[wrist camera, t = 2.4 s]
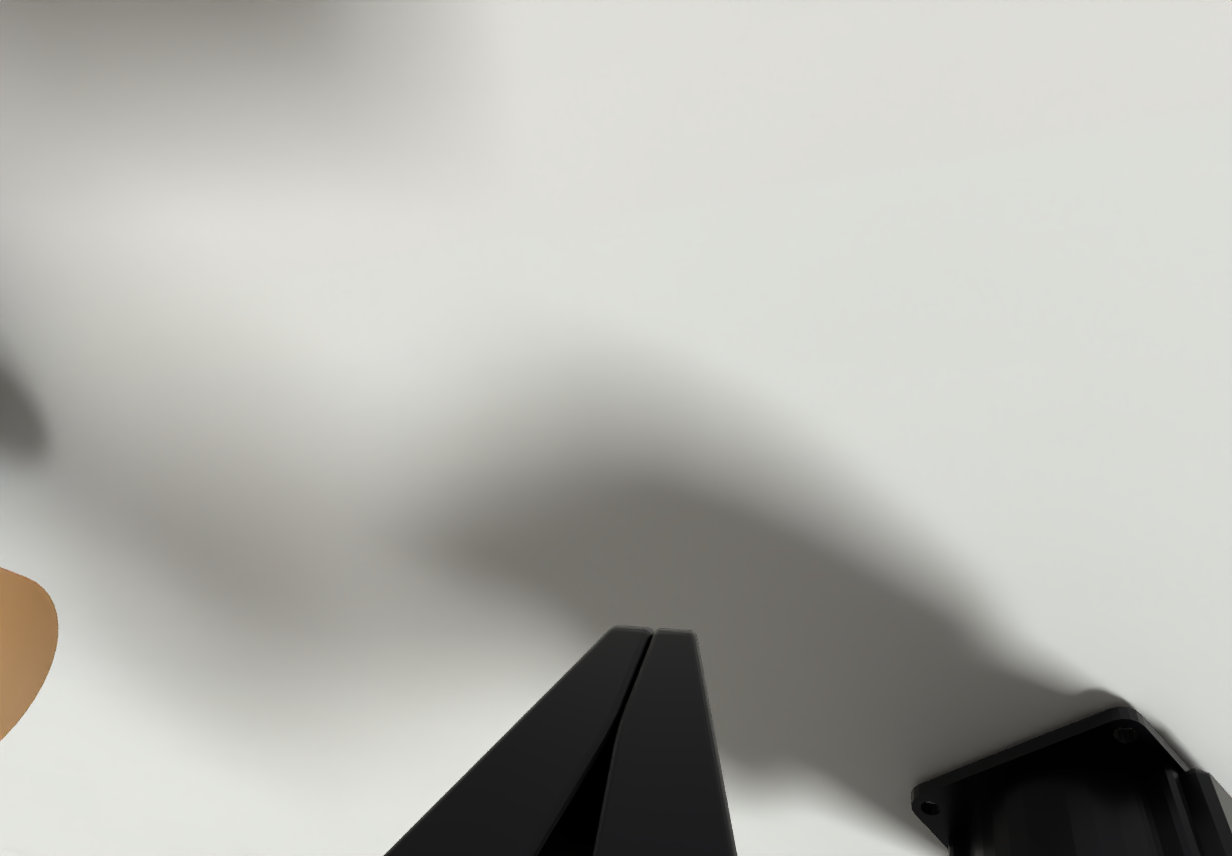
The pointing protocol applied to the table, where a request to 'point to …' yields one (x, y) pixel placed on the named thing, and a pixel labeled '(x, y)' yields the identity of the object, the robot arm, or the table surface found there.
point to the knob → (23, 644)
